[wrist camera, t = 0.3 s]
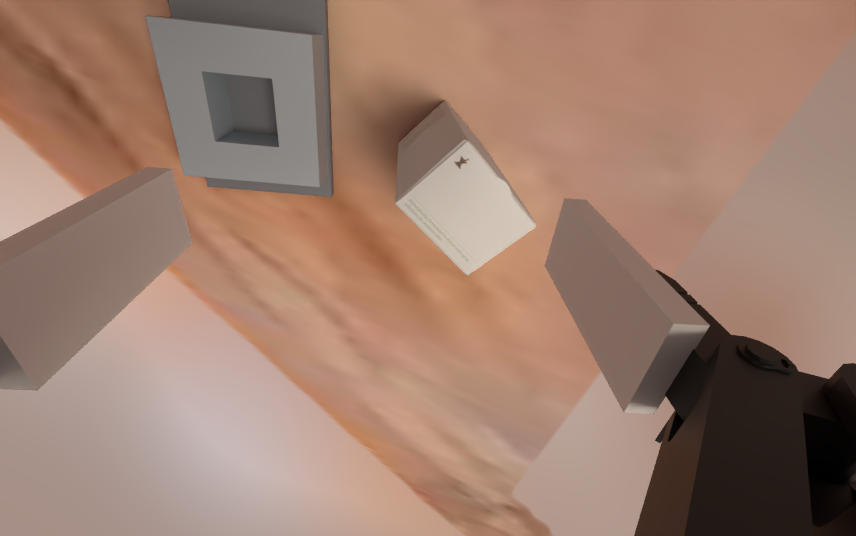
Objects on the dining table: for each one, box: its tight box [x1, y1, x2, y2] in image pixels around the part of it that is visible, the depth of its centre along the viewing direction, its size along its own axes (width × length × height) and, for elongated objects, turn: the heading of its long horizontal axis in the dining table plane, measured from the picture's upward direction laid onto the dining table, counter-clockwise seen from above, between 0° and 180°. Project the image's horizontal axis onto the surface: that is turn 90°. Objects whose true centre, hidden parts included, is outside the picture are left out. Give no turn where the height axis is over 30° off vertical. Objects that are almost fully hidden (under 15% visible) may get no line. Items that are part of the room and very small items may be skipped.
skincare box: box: [395, 101, 537, 275], centre depth 32 cm, size 8×7×16 cm
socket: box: [145, 0, 333, 197], centre depth 33 cm, size 17×12×5 cm
